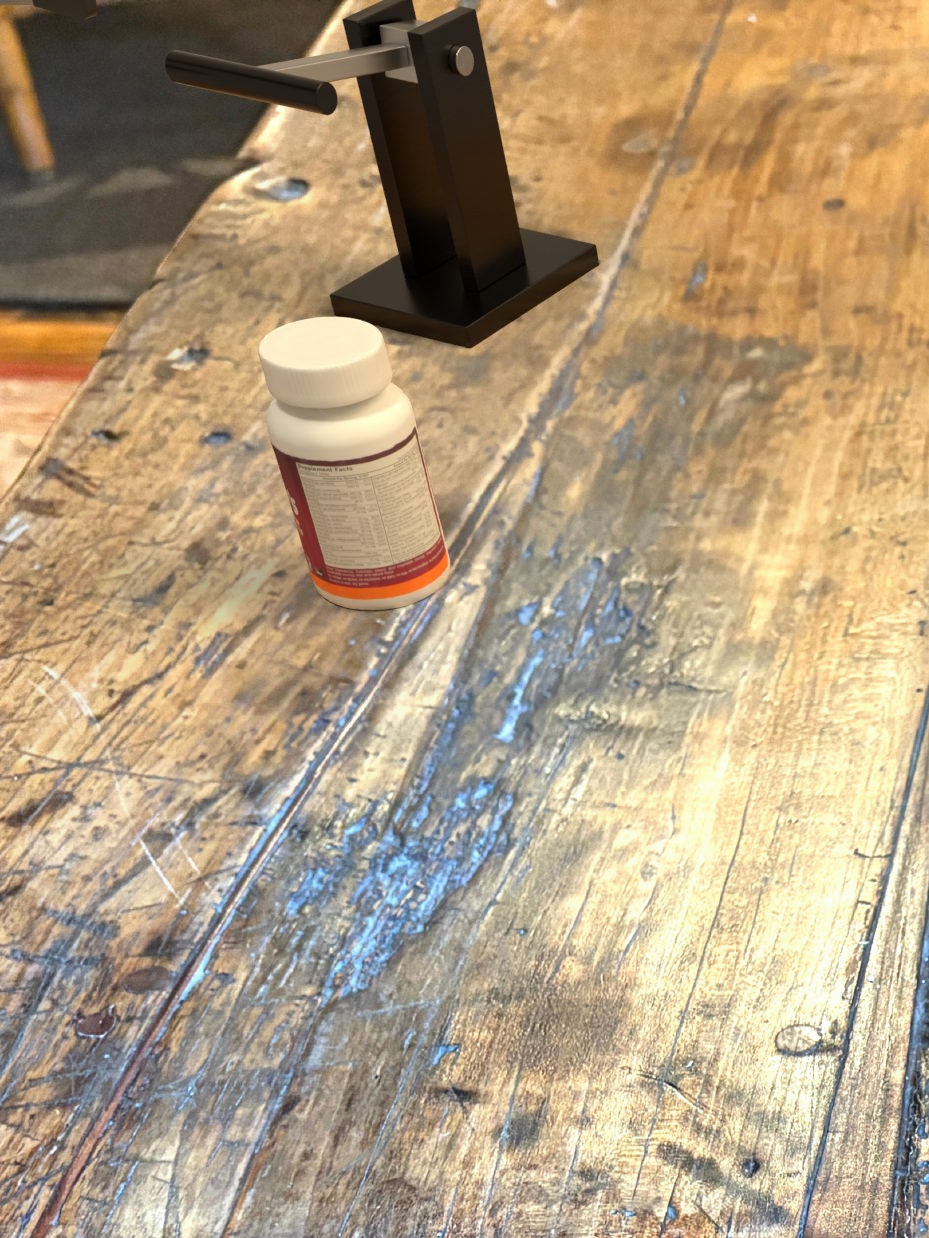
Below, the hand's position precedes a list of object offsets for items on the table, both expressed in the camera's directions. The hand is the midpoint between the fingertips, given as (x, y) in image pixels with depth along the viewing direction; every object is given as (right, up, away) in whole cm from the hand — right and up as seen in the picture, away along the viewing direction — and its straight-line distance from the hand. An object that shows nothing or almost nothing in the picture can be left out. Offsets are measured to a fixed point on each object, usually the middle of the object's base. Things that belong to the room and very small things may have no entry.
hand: (15, 20), depth 103 cm
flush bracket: (+14, -4, +20) cm, 25 cm away
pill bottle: (+18, -27, -1) cm, 32 cm away
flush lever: (+12, 0, +7) cm, 15 cm away
